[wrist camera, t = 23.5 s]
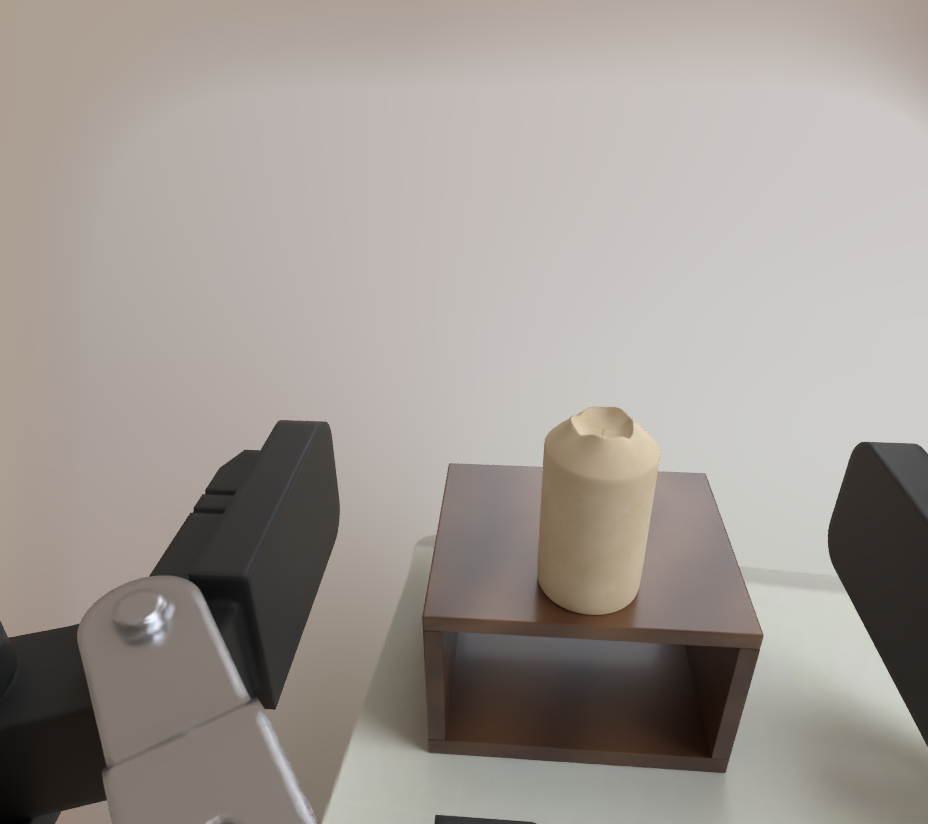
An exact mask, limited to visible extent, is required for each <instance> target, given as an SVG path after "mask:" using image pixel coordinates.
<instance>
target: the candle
mask: <svg viewBox="0 0 928 824" xmlns="http://www.w3.org/2000/svg"><path fill="white" fill-rule="evenodd" d="M659 460H660V449H659V446H658V444H657V443H656V441H655V440H654V439H653V438H652V437H651V436H650V435H649V434H648V433H647V432H646V431H645V430H644V429H643V428H642V427H641V426H639V424H637V423H636V422H635V421H634V420H632V419H631V418H630V417H629V416H628V415H627V414H626V413H625V412H624V411H623V410H621V409H619V408H616V407H590V408H587V409H585V410H584V411H583V412H581V413H579V414H578V415H576V416H571V417H570V418H569V419H568V420H566V421H564V422H562V423H561V424H559V425H558V426H557V427H555V428H554V429H552V430H551V431H550V432H549V434H548V435H547V436H546V439H545V444H544V458H543V475H542V493H541V510H540V527H539V544H538V565H537V574H538V580H539V584H540V586H541V588H542V590H543V591H544V593H545V594H546V595H547V596H548V597H549V598H550V599H551V600H552V601H553V602H555V603H556V604H558V605H559V606H561V607H563V608H565V609H567V610H570V611H573V612H577V613H581V614H587V615H603V614H609V613H613V612H616V611H619V610H621V609H623V608H625V607H626V606H627V605H629V604H630V603H631V602H632V601H633V600H634V598H635V596H636V594H637V592H638V589H639V587H640V581H641V576H642V570H643V564H644V557H645V551H646V544H647V538H648V531H649V525H650V518H651V512H652V505H653V499H654V493H655V486H656V480H657V473H658V467H659Z"/></svg>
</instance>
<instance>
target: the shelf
mask: <svg viewBox="0 0 928 824" xmlns="http://www.w3.org/2000/svg"><path fill="white" fill-rule="evenodd" d="M542 475H543V467H527V466H502V465H501V466H500V465H476V464H449V467H448V473H447V479H446V484H445V490H444V496H443V501H442V507H441V513H440V519H439V524H438V530H437V536H436V542H435V547H434V553H433V559H432V565H431V570H430V576H429V582H428V588H427V593H426V599H425V605H424V611H423V616H422V619H423V639H424V659H425V678H426V698H427V718H428V737H429V739H428V740H429V752H431V753H446V754H461V755H475V756H490V757H505V758H519V759H534V760H549V761H563V762H578V763H593V764H607V765H622V766H637V767H651V768H666V769H681V770H695V771H710V772H726V769H727V765H728V762H729V758H730V755H731V751H732V748H733V744H734V740H735V737H736V733H737V730H738V726H739V723H740V719H741V715H742V712H743V708H744V705H745V701H746V698H747V694H748V690H749V687H750V683H751V680H752V676H753V673H754V669H755V666H756V662H757V658H758V655H759V651H760V647H761V643H762V639H763V633H762V630H761V627H760V624H759V621H758V619H757V616H756V613H755V610H754V607H753V605H752V602H751V599H750V596H749V594H748V591H747V588H746V585H745V582H744V580H743V577H742V574H741V571H740V568H739V566H738V563H737V560H736V558H735V554H734V552H733V549H732V546H731V543H730V541H729V538H728V535H727V532H726V529H725V527H724V524H723V521H722V518H721V515H720V513H719V510H718V507H717V504H716V502H715V499H714V496H713V493H712V491H711V488H710V485H709V482H708V480H707V476H706V474H705V473H681V472H658V473H657V480H656V486H655V493H654V499H653V505H652V512H651V518H650V525H649V531H648V538H647V544H646V551H645V557H644V564H643V570H642V576H641V581H640V587H639V589H638V592H637V594H636V596H635V598H634V600H633V601H632V602H631V603H630V604H629V605H627V606H626V607H625V608H623V609H621V610H619V611H616V612H613V613H609V614H603V615H587V614H581V613H577V612H573V611H570V610H567V609H565V608H563V607H561V606H559V605H558V604H556V603H555V602H553V601H552V600H551V599H550V598H549V597H548V596H547V595H546V594H545V593H544V591H543V590H542V588H541V586H540V584H539V580H538V574H537V565H538V544H539V527H540V510H541V493H542Z"/></svg>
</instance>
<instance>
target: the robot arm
mask: <svg viewBox="0 0 928 824" xmlns="http://www.w3.org/2000/svg"><path fill="white" fill-rule="evenodd" d="M205 492H206V493H205V495H204V494H203V495H202V496H201V498H200V499H199V501H198V502H197V504H196V505H195V507H194V512H193V513H190V515H189V516H188V517H187V519H186V521H185V522H184V524H183V525H182V527H181V528H180V530H179V531H178V533H177V535H176V536H175V537H174V539H173V541H172V542H171V544H170V545H169V547H168V548H167V550H166V551H165V553H164V554H163V556H162V557H161V559H160V561H159V562H158V564H157V565H156V567H155V568H154V570H153V571H152V573H151V574H150V576H149V577H145V578H141V579H138V580H134V581H131V582H128V583H126V584H124V585H121V586H119V587H117V588H115V589H114V590H112V591H110V592H108V593H107V594H105V595H104V596H103V597H101V598H100V599H99V600H98V601H96V602H95V603H94V604H93V605H92V606H91V607H90V609H89V610H88V611H87V612H86V613H85V615H84V617H83V618H82V620H81V622H80V624H77V625H73V626H68V627H63V628H58V629H52V630H48V631H42V632H37V633H31V634H26V635H21V636H16V637H10V638H8V637H7V634H6V632H5V630H4V628H3V626H2V624H1V622H0V824H55V822H56V821H57V819H58V817H59V815H60V813H61V811H63V810H68V809H72V808H76V807H80V806H84V805H88V804H92V803H97V802H101V801H105V800H107V802H108V806H109V811H110V816H111V820H112V824H319V823H318V821H317V819H316V817H315V815H314V813H313V811H312V809H311V807H310V804H309V802H308V800H307V798H306V796H305V794H304V792H303V789H302V787H301V785H300V783H299V781H298V779H297V777H296V775H295V773H294V771H293V768H292V766H291V764H290V762H289V760H288V758H287V756H286V754H285V751H284V749H283V747H282V745H281V743H280V741H279V739H278V737H277V735H276V733H275V730H274V728H273V726H272V724H271V722H270V720H269V718H268V716H267V714H266V711H265V709H276V706H277V704H278V701H279V698H280V695H281V692H282V690H283V687H284V684H285V681H286V678H287V675H288V673H289V669H290V667H291V664H292V661H293V659H294V655H295V653H296V650H297V647H298V645H299V641H300V639H301V636H302V633H303V630H304V628H305V625H306V622H307V619H308V616H309V614H310V610H311V608H312V605H313V602H314V599H315V596H316V594H317V591H318V588H319V585H320V583H321V580H322V577H323V574H324V571H325V568H326V566H327V563H328V560H329V557H330V554H331V552H332V549H333V546H334V543H335V540H336V537H337V532H338V526H339V515H340V507H339V506H340V505H339V494H338V485H337V477H336V468H335V460H334V451H333V442H332V434H331V430H330V426H329V424H328V423H327V422H319V421H317V422H316V421H290V420H289V421H288V420H280V421H278V422H277V424H276V425H275V427H274V428H273V430H272V432H271V434H270V435H269V437H268V439H267V440H266V442H265V444H264V445H263V447H262V449H261V451H259V450H244V451H243V452H241V453H240V454H239V455H237V456H236V457H234V458H233V459H232V460H230V461H229V462H227V463H226V464H225V465H223V466H222V467H221V468H219V470H218V471H217V473H216V474H215V476H214V478H213V479H212V481H211V482H210V484H209V485H208V487H207V488H206V490H205ZM828 548H829V554H830V558H831V561H832V564H833V566H834V568H835V570H836V572H837V574H838V576H839V578H840V580H841V582H842V584H843V586H844V587H845V589H846V591H847V593H848V595H849V597H850V599H851V601H852V603H853V605H854V607H855V609H856V610H857V612H858V614H859V616H860V618H861V620H862V622H863V624H864V626H865V628H866V630H867V632H868V633H869V635H870V637H871V639H872V641H873V643H874V645H875V647H876V649H877V651H878V653H879V654H880V656H881V658H882V660H883V662H884V664H885V666H886V668H887V670H888V672H889V674H890V676H891V677H892V679H893V681H894V683H895V685H896V687H897V689H898V691H899V693H900V695H901V697H902V698H903V700H904V702H905V704H906V706H907V708H908V710H909V712H910V714H911V716H912V718H913V720H914V721H915V723H916V725H917V727H918V729H919V731H920V733H921V735H922V737H923V739H924V741H925V743H926V744H927V746H928V454H927V453H926V452H925V450H924V449H923V448H922V447H921V446H919V445H917V444H907V443H879V442H878V443H877V442H861V443H859V444H858V445H857V446H856V447H855V448H854V450H853V452H852V454H851V457H850V459H849V463H848V466H847V469H846V473H845V476H844V479H843V482H842V485H841V489H840V492H839V495H838V498H837V501H836V505H835V508H834V511H833V514H832V518H831V521H830V525H829V530H828ZM435 824H536V823H533V822H524V821H511V820H497V819H484V818H470V817H457V816H444V815H436V816H435Z"/></svg>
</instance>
